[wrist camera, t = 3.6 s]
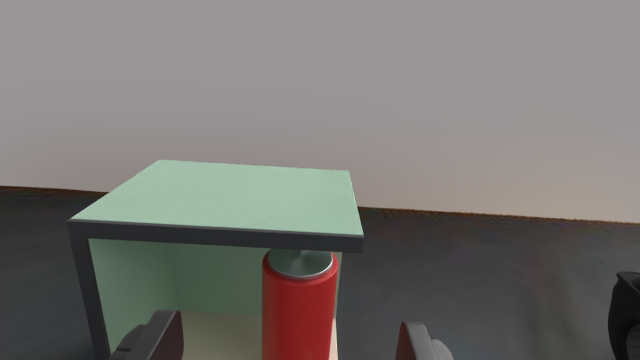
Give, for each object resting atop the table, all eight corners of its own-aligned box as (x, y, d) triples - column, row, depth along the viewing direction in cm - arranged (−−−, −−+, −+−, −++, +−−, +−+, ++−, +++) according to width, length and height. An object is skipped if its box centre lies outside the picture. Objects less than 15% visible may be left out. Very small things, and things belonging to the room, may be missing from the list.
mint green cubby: (340, 434, 24) (364, 237, 18) (110, 423, 23) (65, 221, 18) (334, 317, 34) (348, 170, 29) (175, 309, 34) (159, 159, 29)
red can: (247, 378, 27) (246, 264, 23) (283, 331, 31) (286, 230, 28) (309, 409, 25) (318, 290, 21) (338, 354, 29) (349, 249, 26)
